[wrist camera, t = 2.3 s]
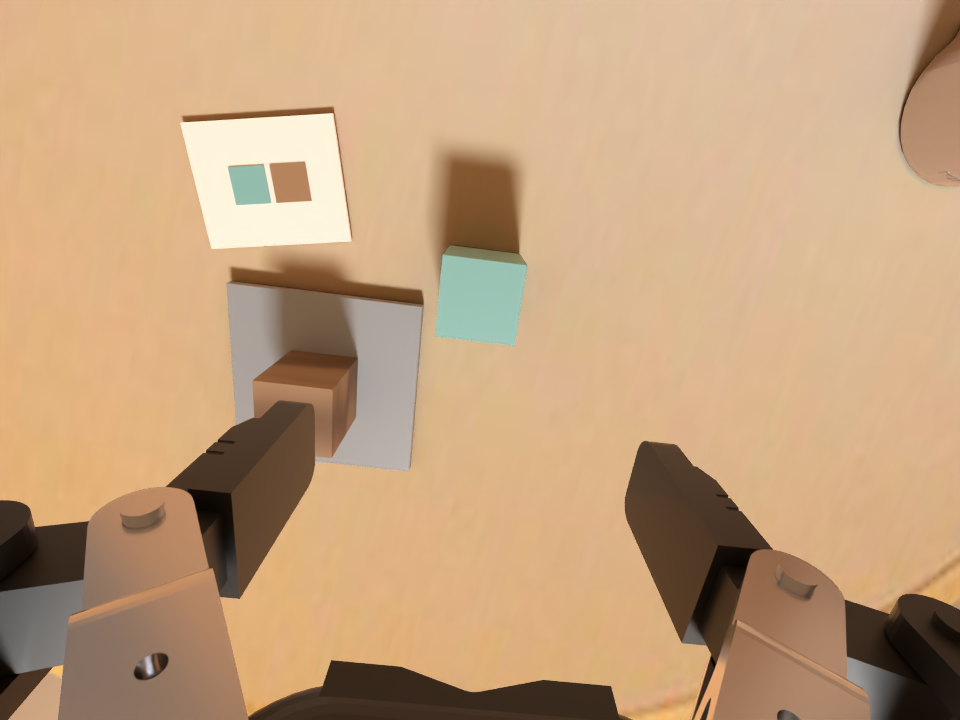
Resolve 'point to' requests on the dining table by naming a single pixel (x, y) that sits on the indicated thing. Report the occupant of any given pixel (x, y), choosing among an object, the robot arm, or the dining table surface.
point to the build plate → (343, 332)
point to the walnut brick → (313, 392)
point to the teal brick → (480, 295)
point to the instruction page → (269, 180)
